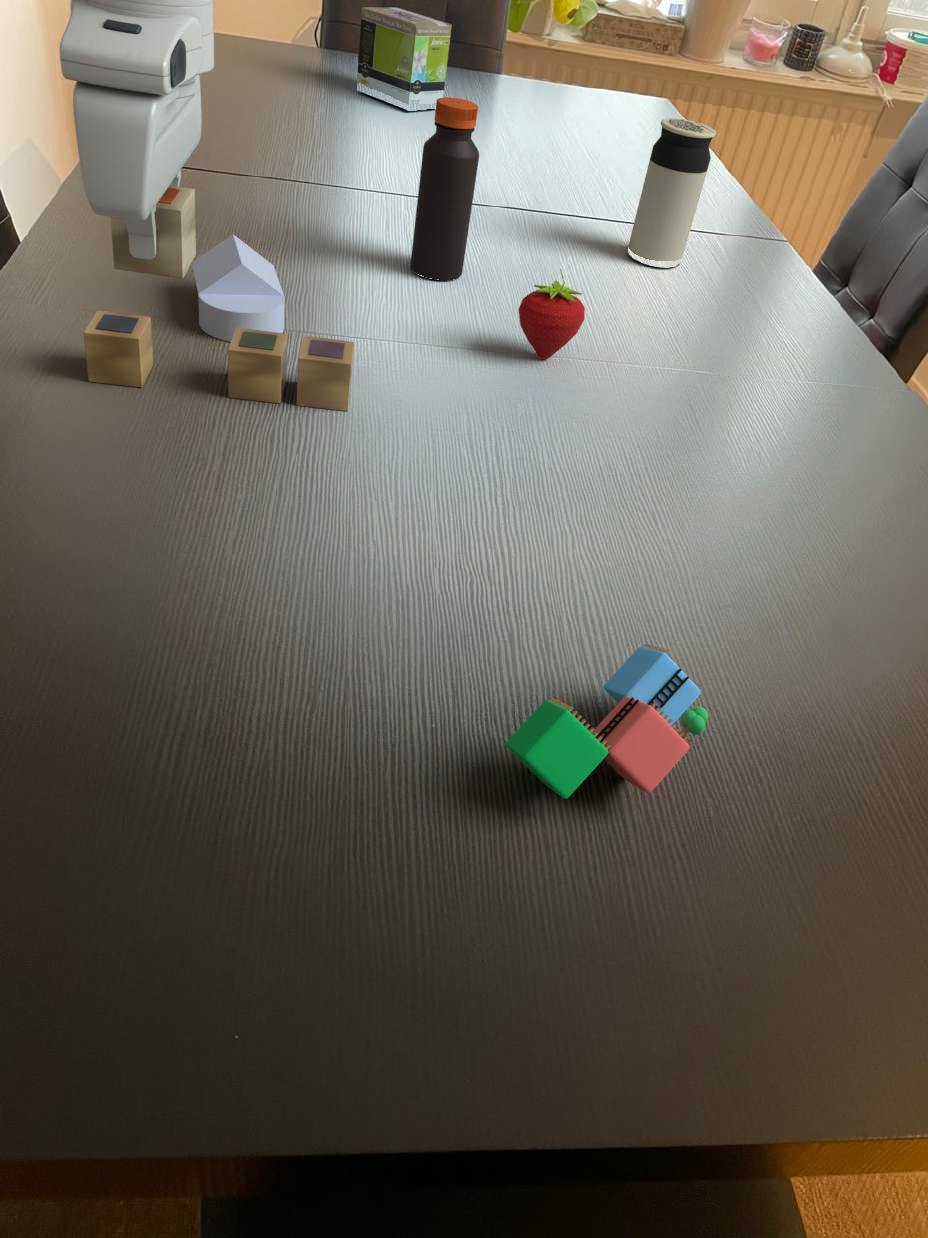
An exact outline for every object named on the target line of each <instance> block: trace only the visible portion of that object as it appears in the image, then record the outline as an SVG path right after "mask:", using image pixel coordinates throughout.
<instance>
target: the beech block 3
mask: <svg viewBox="0 0 928 1238" xmlns="http://www.w3.org/2000/svg"><path fill="white" fill-rule="evenodd" d="M354 351H355V341H351V340H342V339H333V338H325V337H318V336H308V335H303V336H302V340H301V344H300V348H299V352H298V357H297V375H296V376H297V377H296V380H297V381H296V400H295V401H296V402H295V404H296V406H299V407H307V408H316V409H324V410H325V409H326V410H334V411H341V412H342V411H343V412H348V411H349V407H350V405H349V404H350V396H351V390H352V389H351V388H352V379H353V377H352V376H353V365H354V364H353V363H354V354H355V353H354Z"/></svg>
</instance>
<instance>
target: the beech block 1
mask: <svg viewBox="0 0 928 1238" xmlns="http://www.w3.org/2000/svg"><path fill="white" fill-rule="evenodd" d="M152 335H153V333H152V318H151V317H150V316H146V315H138V314H129V313H121V312H112V311H106V310H105V311H104V310H96V312H95V313H94V315H93V317H92V318H91V320H90V321H89V323H88V324H87V326H86V328H84V331H83V342H84V348H85V349H84V351H85V359H86V368H87V379H88V382H90V383H96V384H97V383H98V384H107V385H115V386H123V387H132V388H143V387H144V386H145V384H146V381H147V379H148V377H149V374H150V372H151V371H152V368H153V367H154V351H153V336H152Z"/></svg>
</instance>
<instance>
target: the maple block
mask: <svg viewBox="0 0 928 1238" xmlns="http://www.w3.org/2000/svg"><path fill="white" fill-rule="evenodd" d="M154 215H155V225H156V229H157V230H158V237H159V250H158V252H157V254H156V255H155V257H154V258H153V259H152V260H147V259H140V258H135V257H133V256H132V255H131V253H130V250H129V235H128V231H127V229H126V226H125V223H124V220H123V219H119V218H113V217H110V228H111V229H110V230H111V241H112V256H113V257H112V259H113V268H114V270H117V271H126V272H131V273H132V272H134V273H140V274H146V275H154V276H159V277H160V276H161V277H168V278H173V279H174V278H175V279H181V280H183V279H184V278H185V276H186V274H187V273H188V271H189V269H190V266H191V265H192V262H194V260H195V257H196V255H197V249H196V248H197V244H196V243H197V241H196V239H197V238H196V236H197V235H196V189H195V188H190V187H184V186H179V187H178V186H171V185H169V187H168V188H167V190H166V191H165V193H164V194H163V195H162V197H161V198H160V200H159V201H158V203H157V204H156V211H155V212H154Z"/></svg>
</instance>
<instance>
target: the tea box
mask: <svg viewBox="0 0 928 1238" xmlns="http://www.w3.org/2000/svg"><path fill="white" fill-rule="evenodd" d="M360 15H361V16H360V17H361V18H360V27H359V43H358V57H357V75H356V83H357V82H358V83H361V84H363V85H364V86H366V87H369V88H370V89H374V90H377V91H379V92H382V93H384V94H386V95H389V96H391V97H393V98H394V99H396V100H399V101H401V102H403V103H406V104H408V105H409V104H434V103H436V101H437V99H439V98H443V97H444V94H445V86H446V77H447V68H448V60H449V52H450V51H449V50H450V44H451V35H452V25H453V24H451V23H448V22H445V21H442V20H438V19H436V18H432V17H430V16H425V15H423V14H419V13H416V12H413V11H410V10H406V9H403V8H400V7H384V6H383V7H381V6H380V7H379V6H378V7H376V6H371V7H370V6H369V7H368V6H365V7H361V14H360Z"/></svg>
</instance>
